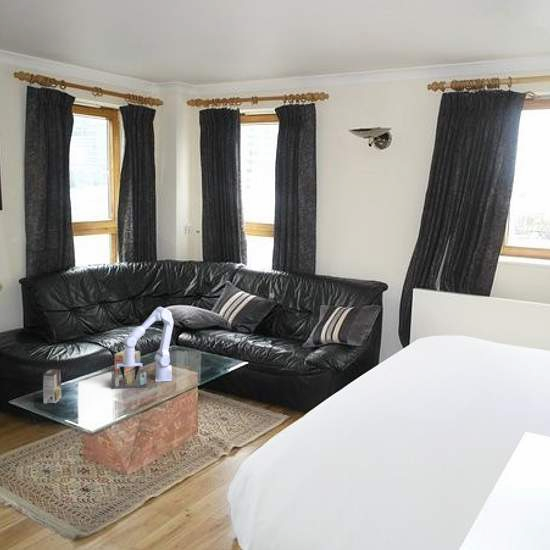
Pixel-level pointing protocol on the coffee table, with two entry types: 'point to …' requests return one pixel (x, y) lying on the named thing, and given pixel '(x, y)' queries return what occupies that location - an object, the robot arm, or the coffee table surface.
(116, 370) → the stack of blocks
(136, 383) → the grey slab
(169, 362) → the robot arm
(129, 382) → the brass block
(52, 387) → the coffee box
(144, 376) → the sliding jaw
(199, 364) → the coffee table surface
